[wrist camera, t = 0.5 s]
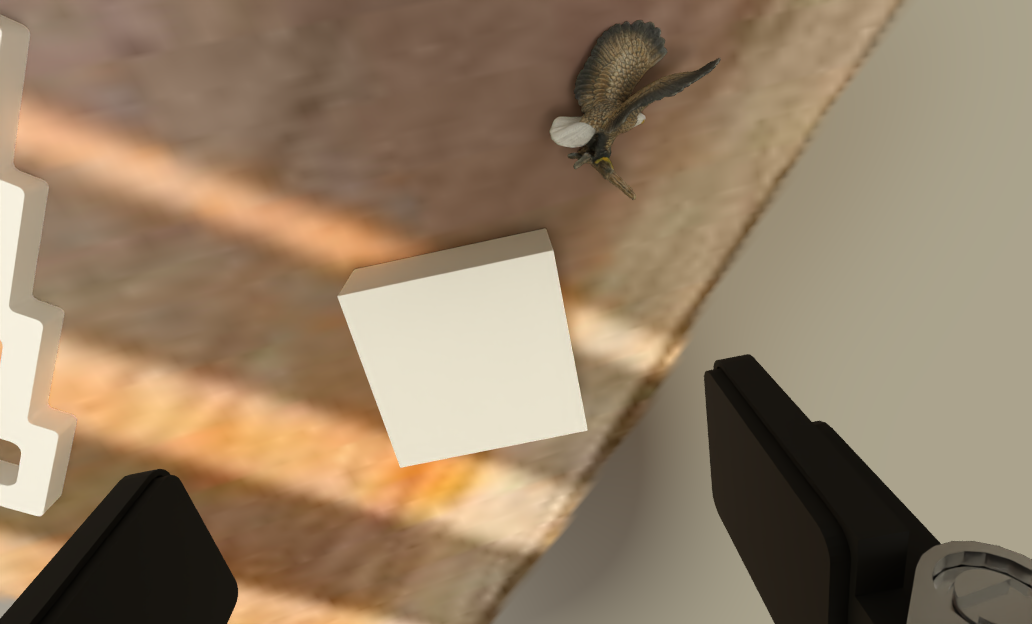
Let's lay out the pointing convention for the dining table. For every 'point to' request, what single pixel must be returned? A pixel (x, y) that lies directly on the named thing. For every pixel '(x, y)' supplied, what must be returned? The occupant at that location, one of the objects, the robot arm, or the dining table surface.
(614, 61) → the eagle figurine
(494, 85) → the dining table surface
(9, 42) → the holder
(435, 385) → the stand
